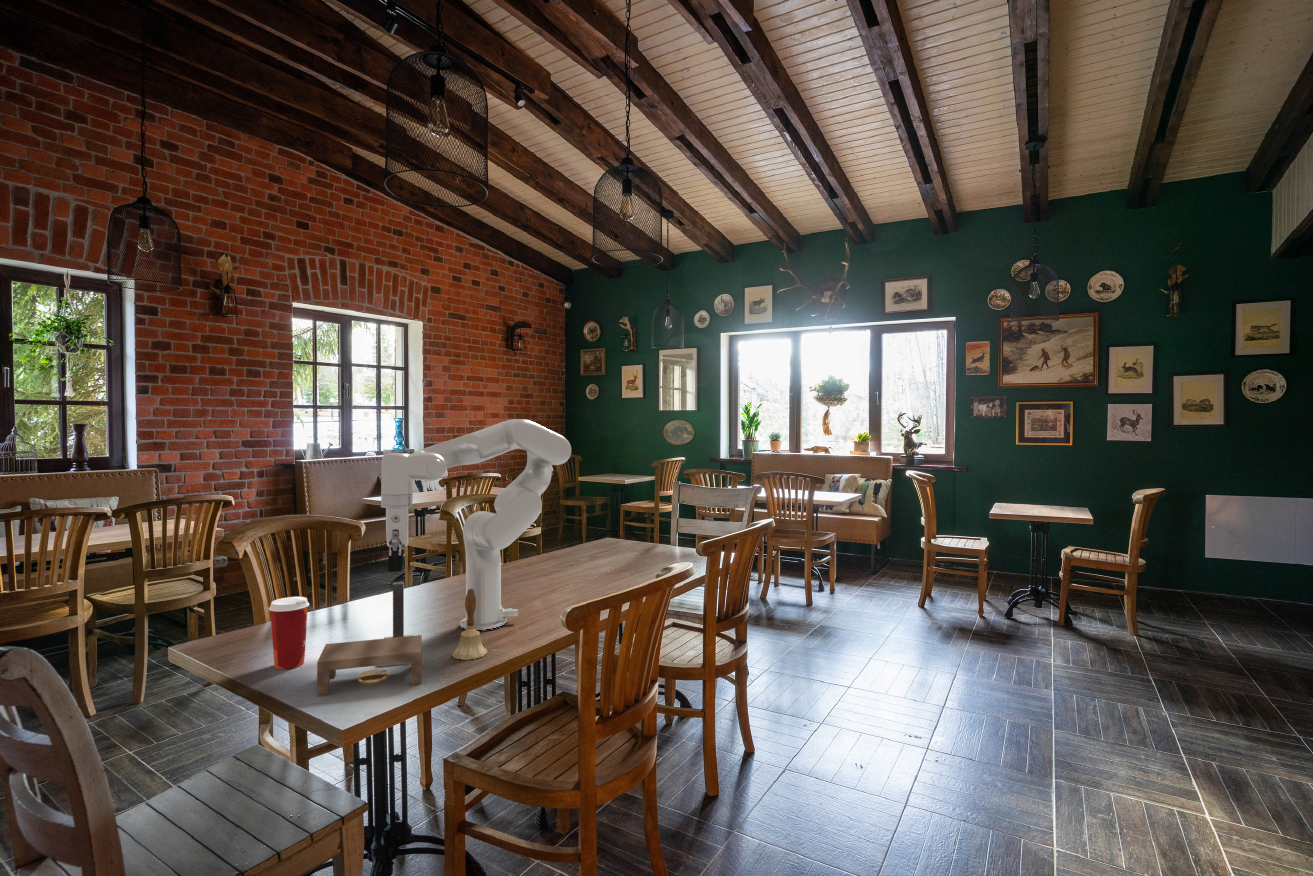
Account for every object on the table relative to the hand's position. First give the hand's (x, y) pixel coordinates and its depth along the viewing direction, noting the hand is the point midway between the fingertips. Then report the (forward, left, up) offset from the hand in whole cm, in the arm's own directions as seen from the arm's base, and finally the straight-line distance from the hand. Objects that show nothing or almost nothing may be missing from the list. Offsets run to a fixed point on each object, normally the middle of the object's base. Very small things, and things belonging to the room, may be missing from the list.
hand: (395, 567), depth 168 cm
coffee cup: (+23, +10, -19) cm, 31 cm away
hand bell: (-17, +16, -19) cm, 30 cm away
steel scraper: (0, +8, -19) cm, 21 cm away
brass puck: (+4, +26, -19) cm, 32 cm away
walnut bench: (+4, +26, -19) cm, 32 cm away
